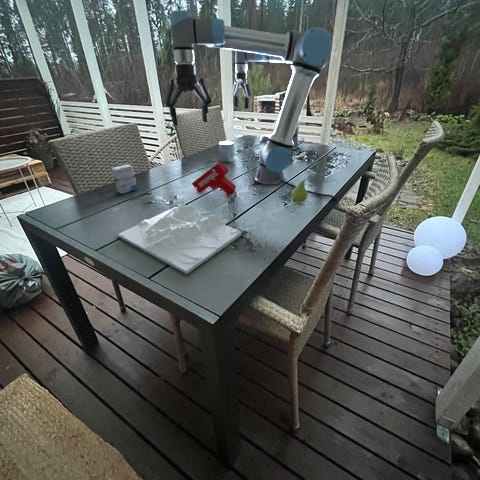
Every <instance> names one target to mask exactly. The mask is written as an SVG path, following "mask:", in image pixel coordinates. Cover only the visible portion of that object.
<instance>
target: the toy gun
mask: <svg viewBox="0 0 480 480" xmlns="http://www.w3.org/2000/svg"><path fill="white" fill-rule="evenodd" d="M228 173H229V169H228V168H227V166H226V165H225V163H224V162H221V161H220V160H219V162H217V163H216V164H214V166H212V167H211V168H210V169H209V170H207V171H206V172H204V173H203V174H202V175H201V176H199V177H198V178H197V179H196V180H194V181H193V182H192V183H191V184H192V186H193V187H194V189H195V190H196V191H197V193H199V194H201V193H203V192H204V191H205V190H207V189H208V188H210V189H211V190H213V191H215V190H216V189H218V188H219V189H220V190H222V191H223V192H224V193H225V194H226V196H227V197H229V196H230V195H233V194H235V192H236V188H237V186H236V184H235V183H233V182H232V181H230V180H229V179H228V178H227V177H226V175H227V174H228Z"/></svg>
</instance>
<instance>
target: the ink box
mask: <svg viewBox="0 0 480 480" xmlns="http://www.w3.org/2000/svg"><path fill="white" fill-rule="evenodd" d="M110 170H111V173H112V176H113V181H114V184H115V188H116V191H117V192H118V193H119V194H121V195H122V194H126V193H130V192H132V191H133V192H134V191H136V190H138V185H137V181H136V177H135V171H134V167H133V165H130V164H124V165H120V166H119V165H118V166H115V167H111V168H110Z"/></svg>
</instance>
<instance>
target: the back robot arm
mask: <svg viewBox="0 0 480 480" xmlns="http://www.w3.org/2000/svg"><path fill="white" fill-rule="evenodd" d="M234 53H235V54H234V55H235V57H234V58H235V59H234V60H235V62H234V63H235V68H234V69H235V79H234V81H233V87H232V91H231V95H232V96H233V107H239V100H238V99H239V96H238V94H239V92H240V90H242V92H243V96H244V110H248V109H249V103H250V98H251V97H252V94H251V90H250V85H249V80H247V79H248V73H247V71H248V62H263V63H281V64H282V63H283V64H284V63H286V64H292V62H290V61H286V60H283V59H282V58H281V57H278V56H271V55H265V54H258V53H251V52H244V51H237V50H234ZM330 60H331V55H330V56H329V58H328V59H327V60H326V62H325V63H323V66H322V68H321V71H320V73H321V72H322V70H323V69H324V68H325V67H326V66H327V65H328V64H329V63H330ZM319 76H320V74H319V75H318V76H317V77H319ZM315 79H316V77H315V78H314V79H313V82H312V84H313V83H314V80H315ZM300 118H301V117H300ZM300 118H299V121H298V124H297V127H296V130H295V132H294V135H293V138H292V141H293V143H294V145H293V148H292V151H295V150H298V149H299V148H300V143H304V142H305V141H306V140H305V138H304V137H301V138H300V140H299V130H300V129H299V128H300V120H301V119H300ZM277 121H278V119H277V120H276V121H275V122H274V124H273V132H274V131H275V128H276V124H277ZM294 148H295V149H294Z"/></svg>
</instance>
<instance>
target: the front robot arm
mask: <svg viewBox="0 0 480 480" xmlns="http://www.w3.org/2000/svg"><path fill="white" fill-rule="evenodd" d="M169 23H170V24H169V25H170V26H169V27H170V35H171V43H172V52H173V60H174V63H176V64H175V65H174V67H175V68H174V70H175V76H176V78H175V79H174V78H169V79H168V87H167V91H166V94H165V97H164V102H163V106H164V107H167V108H168V110H169V116H170V117H172V125H173V126H178V118H177V116H178V115H177V109H176V107H175V105H176V104H177V102H178V100H179V98H180V96H181V95H182V94H183V92H184V93H186V92H193V93H194V94H195V96H196V97H197V98H198V99H199V101H200V102H201V103H202V104H201V117H202V123H203V122H204V123H207V122H208V117H207V116H208V115H207V114H208V113H209V105H210V104H212V102H213V101H212V98H211V96H210V94H209V91H208V90H207V87H206V86H205V81H204V78H203V77H198V78H196V66H195V64H194V63H195V51H194V45H195V46H196V45H197V46H198V45H200V46H201V45H202V46H206V47H207V48H216V49H225V50H232V51H235V50H237V51H244V52H251V53H258V54H265V55H271V56H278V57H281V58H282V59H283V60H286V61H290V62H292V63H291V65H290V67H291V69H292V75H291V78H290V80H289V84H288V86H287V90H286V93H285V97H284V100H283V101H282V106H281V110H280V112H279V115H278V119H277V120H278V121H277V120H276V121H277V124H276V128H275V131H274V130H273V133H271V134H263V135H261V136H260V137H259V153H258V157H259V158H258V167H257V171H256V172H255V178H254V181H255V183H258V184H259V185H262V186H263V185H264V186H279V185H281V184H285V185H287V186H289V187H292V188H293V189H295V188H296V187H297V185H293V184H292V183H289V182H288V181H285V175H284V172H283V171H285V170H286V169H287V168H288V167H289V166H290V164H291V163H292V151H293V150H292V148H293V145H294V143H293V141H292V138H293V135H294V132H295V130H296V127H297V124H298V121H299V122H300V120H299V118H301V117H302V112H303V110H304V107H305V104H306V101H307V100H308V99H307V98H308V96H309V93H310V90H311V87H312V85H313V83H314V81H313V79H314V78H315V79H316V78H317V77H319V76H320V74H321V72H322V70H321V68H322V66H323V63H325V62H326V60H327V59H328V58H329V56H330V57H331V54H332V51H333V40H332V36H331V34H330V32H329V31H328V30H327V29H325V28H324V27H320V26H319V27H318V26H314V27H311V28H309V29H307V30H305V31H300V32H289V31H288V32H286V33H285V34H281V33H277V32H276V33H275V32H268V31H263V30H262V31H261V30H257V29H248V28H242V27H236V26H229V25H225V20H224V19H222V18H217V17H214V18H193V17H192V15H191V12H190V11H188V10H180V9H179V10H172V11H171V12H170V13H169ZM322 69H323V68H322ZM320 71H321V72H320ZM318 75H319V76H318ZM315 79H314V80H315ZM312 82H313V83H312ZM176 85H177V88H176V90H175V93H174V94H173V92H174V89H175V86H176ZM196 85H198V86H199V89H198V87H197V86H196ZM200 90H201V92H200ZM306 190H307V189H306ZM307 192H308V194H312V195H317V196H321V197H325V198H326V197H327V198H331V199H333V201H334V202H337V198H336V197H335V196H334V195H332V194H325V193H320V192H315V191H311V190H307Z"/></svg>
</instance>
